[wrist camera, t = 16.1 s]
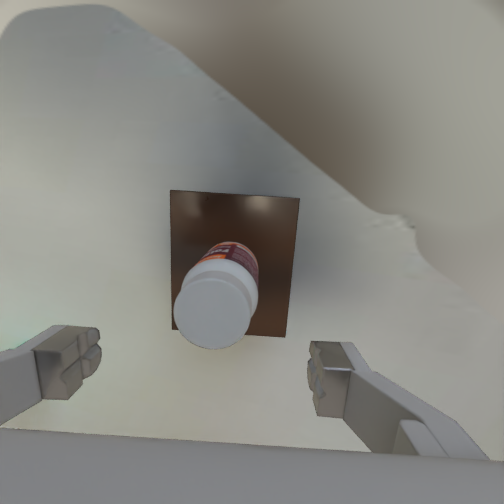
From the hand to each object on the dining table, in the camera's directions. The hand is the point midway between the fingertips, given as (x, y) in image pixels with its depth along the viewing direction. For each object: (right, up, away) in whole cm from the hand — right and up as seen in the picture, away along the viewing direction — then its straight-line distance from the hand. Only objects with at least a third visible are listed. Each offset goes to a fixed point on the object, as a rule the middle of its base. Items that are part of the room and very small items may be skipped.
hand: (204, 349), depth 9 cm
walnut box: (0, +4, +18) cm, 19 cm away
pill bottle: (0, +2, +11) cm, 12 cm away
